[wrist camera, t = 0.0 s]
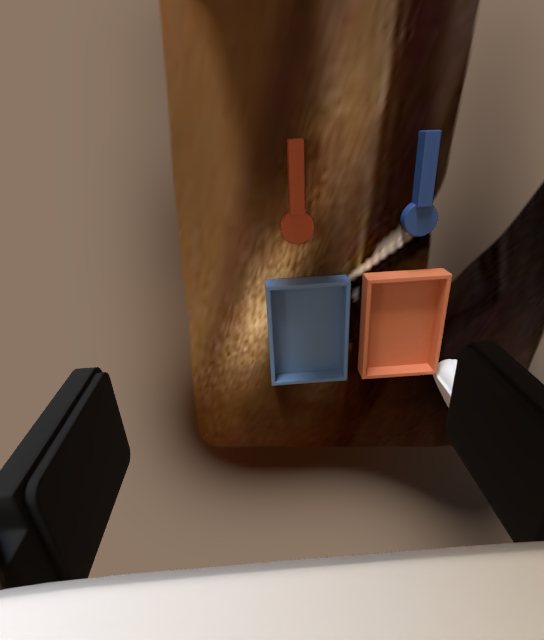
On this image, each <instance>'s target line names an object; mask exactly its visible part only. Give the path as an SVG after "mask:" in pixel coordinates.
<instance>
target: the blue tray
mask: <svg viewBox="0 0 544 640" xmlns="http://www.w3.org/2000/svg"><path fill="white" fill-rule="evenodd" d="M265 287H266V302H267V318H268V334H269V350H270V365H271V380H272V386H274V385H288V384H302V383H316V382H330V381H344V380H347V370H348V344H349V318H350V293H351V281H350V279H349V278H348V276H347V275H346V274H345V275H329V276H314V277H299V278H284V279H269V280H265Z"/></svg>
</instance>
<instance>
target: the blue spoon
mask: <svg viewBox="0 0 544 640" xmlns="http://www.w3.org/2000/svg"><path fill="white" fill-rule="evenodd" d="M440 139H441V130H424V131H419V136H418V146H417V156H416V166H415V175H414V185H413V195H412V203H410V204H409V205H408V206H406V208H405V209H404V210H403V212H402V215H401V225H402V227H403V229H404V230H405V231H406V232H408V233H409V234H411V235H413V236H424V235H426V234H428V233H430V232H431V231H432V230H433V229H434V227H435V226H436V223H437V220H438V213H437V210H436V208H435V207H434V206H433V205H432V203H433V195H434V187H435V179H436V171H437V163H438V155H439V147H440Z"/></svg>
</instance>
